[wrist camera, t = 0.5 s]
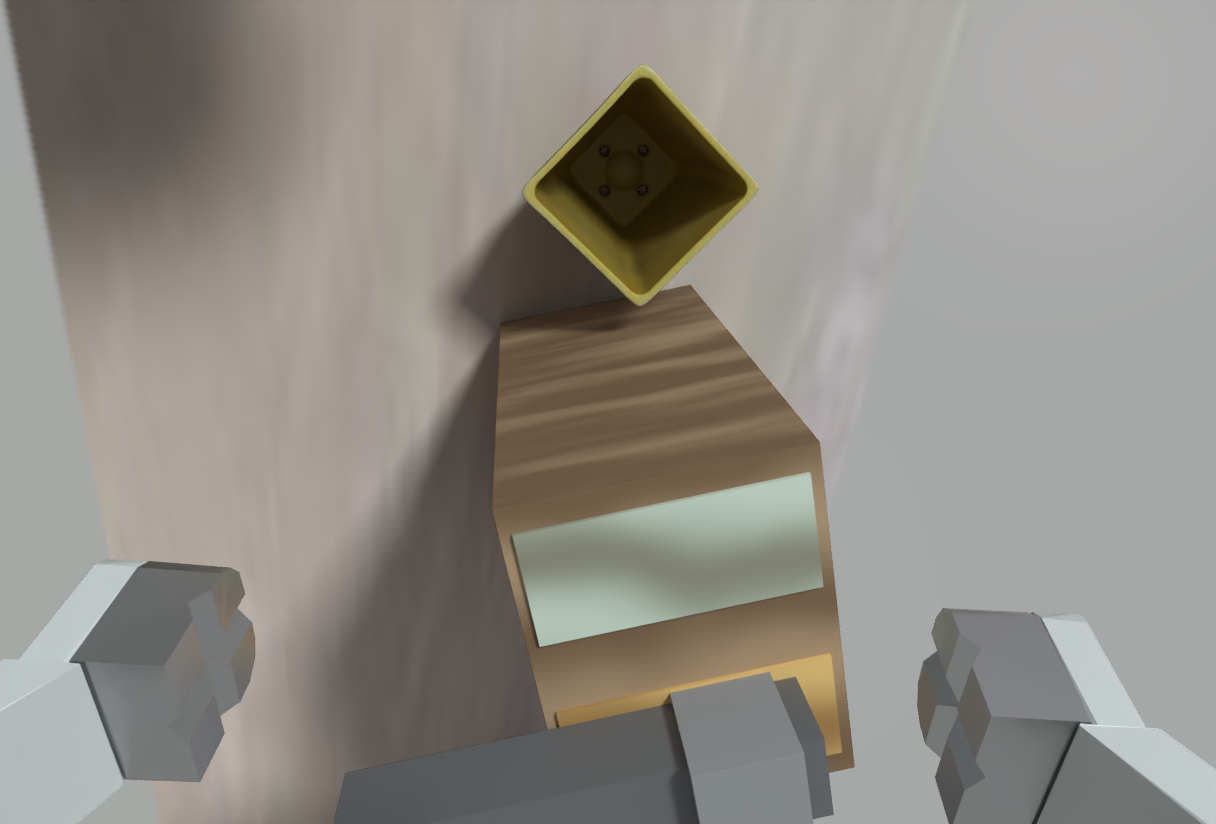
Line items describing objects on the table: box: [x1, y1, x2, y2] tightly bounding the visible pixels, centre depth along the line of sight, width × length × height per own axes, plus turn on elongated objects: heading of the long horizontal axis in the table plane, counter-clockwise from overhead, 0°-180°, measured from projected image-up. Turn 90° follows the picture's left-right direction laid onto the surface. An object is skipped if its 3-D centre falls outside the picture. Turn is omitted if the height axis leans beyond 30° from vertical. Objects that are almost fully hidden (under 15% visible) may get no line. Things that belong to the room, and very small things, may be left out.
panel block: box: [492, 285, 854, 773], centre depth 48 cm, size 15×12×26 cm
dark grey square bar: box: [334, 672, 833, 824], centre depth 35 cm, size 5×18×5 cm, turn 100°
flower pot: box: [522, 65, 758, 306], centre depth 51 cm, size 9×9×9 cm
